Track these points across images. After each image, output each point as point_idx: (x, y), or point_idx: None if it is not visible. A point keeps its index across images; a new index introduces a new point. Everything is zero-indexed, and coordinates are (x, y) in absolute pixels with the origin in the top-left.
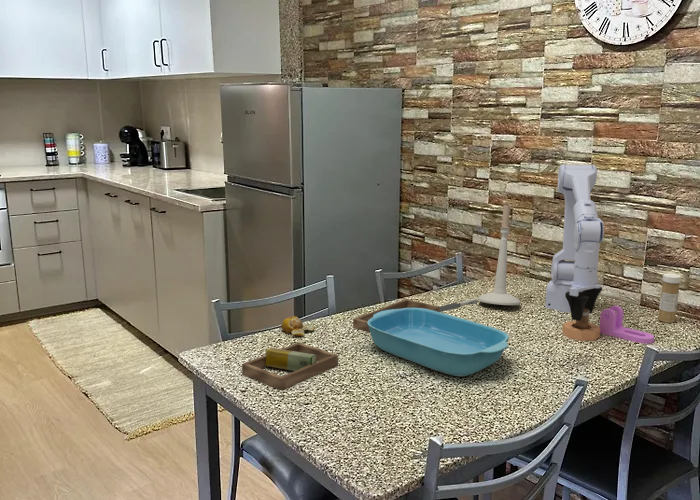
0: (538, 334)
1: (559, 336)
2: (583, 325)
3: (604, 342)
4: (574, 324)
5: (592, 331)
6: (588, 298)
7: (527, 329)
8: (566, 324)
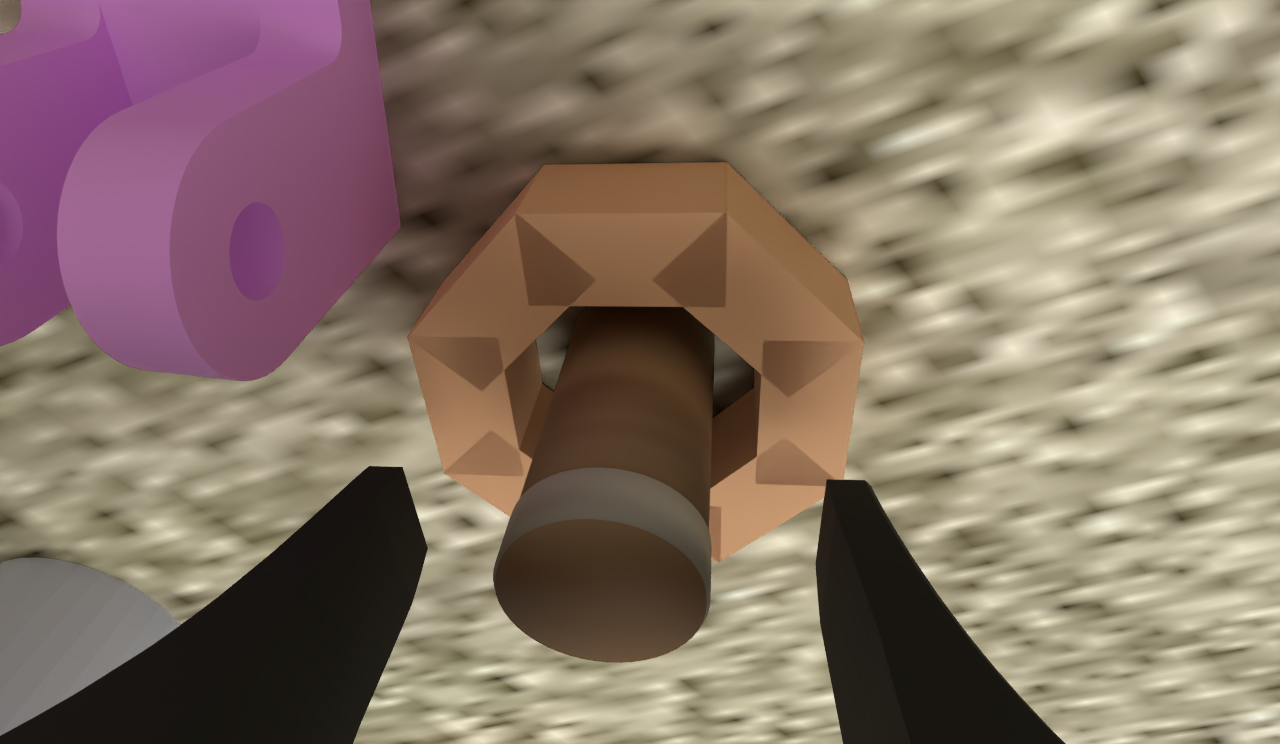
0: None
1: None
2: (697, 399)
3: (717, 20)
4: None
5: (748, 243)
6: (300, 729)
7: (816, 683)
8: None
